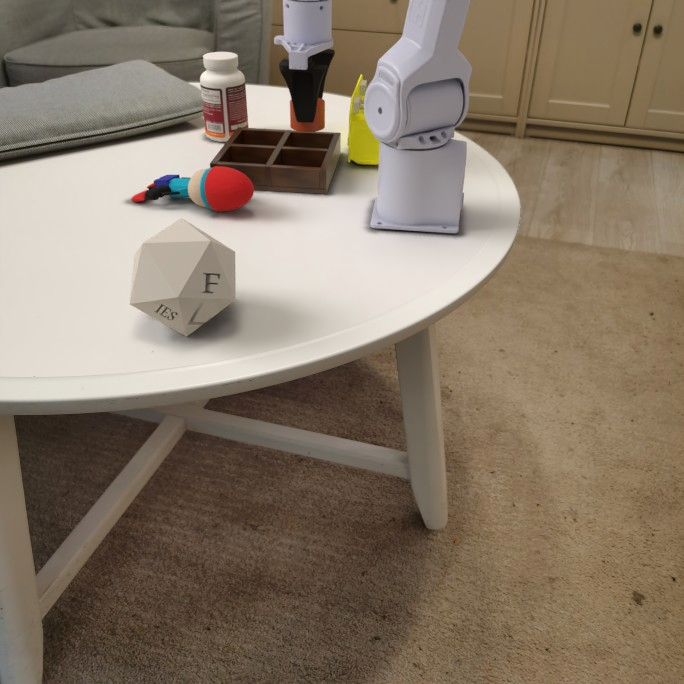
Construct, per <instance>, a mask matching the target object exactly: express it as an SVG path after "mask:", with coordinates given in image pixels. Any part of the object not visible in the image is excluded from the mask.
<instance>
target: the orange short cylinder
mask: <svg viewBox="0 0 684 684" xmlns="http://www.w3.org/2000/svg"><path fill="white" fill-rule="evenodd" d="M289 119H290V120H289V121H290V129H291V130H296V131H301V132H320V131H322V130H324V129H325V128H326V101H325V99H323V98H322V99H321V98H318V102H317V110H316V115H315V119H314V122H313V123H307V122H297V120H296V117H295V113H294V108H293V104H292V99H291V98H290V100H289Z"/></svg>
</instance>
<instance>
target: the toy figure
mask: <svg viewBox="0 0 684 684" xmlns="http://www.w3.org/2000/svg"><path fill="white" fill-rule="evenodd" d="M146 188H147V190H143V191H141V192H139V193H137V194H134V195H133V196H131V199H130V201H132V202H135V203H138V202H143V201H145V200H146V199H147V200H148V201H157V200H159V199H160V198H161V199H162V198H164V197H165V196H166V197H170V198H186V199H187V198H188V199H190V200H191V201H192V202H193V203H194V204H195V205H197V206H199V207H203V208H207V209H209V210H211V211H214V212H230V211H233V210H237V209H240V208H242V207H244V206H246V205H247V204H248V203H249V202H250V201H251V199H252V198H253V196H254V193H255V190H254V187H253V184H252V181H251V180H250V179H249V178H248V177H247V176H246V175H245V174H244V173H242V172H240V171H238V170H236V169H233V168H229V167H222V166H215V167H213V168H210V167H208V168H202V169H200V170H198V171H196V172H194V174H193V175H192V176H191V177H185V176H184V177H181V176H180V174H165V175H163V176H160V177H159V178H156V179H154V180H153V182H152V183H150V184H149V185H147V186H146Z"/></svg>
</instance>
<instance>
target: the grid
mask: <svg viewBox="0 0 684 684" xmlns="http://www.w3.org/2000/svg"><path fill="white" fill-rule="evenodd" d="M341 136H342V135H341V132H332V131H315V132H301V131H296V130H293V129H274V128H258V127H249V128H242V127H238V128H237V129H236V131H235V132H234V133H233V134H232V136H231V137H230V138H229V140H228V141H227V142H224V144H223V146H222V147H221V148H220V149H219V151H218V152H217V153H216V155H215V156H214V158H212V160H211V161H210V162H209V168H213V167H215V166H222V167H229V168H233V169H236V170H238V171H240V172H242V173H244V174H245V175H246V176H247V177H248V178H249V179H250V180H251V181H252V184H253V187H254V191H268V192H269V191H270V192H283V193H285V192H286V193H302V194H315V195H316V194H317V195H318V194H320V195H327V193H328V191H329V188H330V185H331V182H332V179H333V176H334V173H335V170H336V168H337V165H338V163H339V159H340V157H341V143H342V142H341V139H342V137H341Z"/></svg>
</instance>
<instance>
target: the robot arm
mask: <svg viewBox="0 0 684 684" xmlns="http://www.w3.org/2000/svg"><path fill="white" fill-rule="evenodd" d="M470 5H471V0H409V2H408V7H407V11H406V16H405V20H404V26H403V29H402V34H401V37H400V38H399V39H398V40H397V41H396V43H394V44H393V45H392V46H391V47H390V48H389V49H388V50H387V51H386V52H385V53H383V55H382V56H381V57H380V58H379V59H378V60H377V65H376V70H375V73H374V76H373V78H372V80H371V81H370V82H369V84H368V85H367V90H366V94H365V98H364V114H365V119H366V122H367V124H368V127H369V128H370V130H371V132H372V133H373V134H374V138H375V139H377V140H379V141H380V148H379V164H378V172H377V173H378V174H377V175H378V176H377V191H376V192H377V193H376V194H377V196H376V197H375V200H374V203H373V208H372V212H371V213H372V214H371V218H370V226H369V227H370V228H372V229H380V230H397V231H413V232H427V233H444V234H457V233H459V229H460V220H461V218H460V217H461V210H463V209H464V203H465V202H464V201H465V192H464V184H465V177H466V167H467V166H466V165H467V152H468V151H467V150H468V146H467V144H468V143H467V141H465V140H460V139H454V138H455V131H456V128H457V127H459V126H460V125H461V124H462V123H463V122H464V120H465V119H466V117H467V115H468V111H469V106H470V79H471V77H472V72H473V67H472V65H471V64H470V62H469V60H468V59H467V57H466V56H465V55H464V54H463V53H462V51H461V50H460V49H459V44H460V41H461V38H462V34H463V30H464V27H465V23H466V19H467V16H468V13H469V12H468V11H469V8H470ZM332 12H333V0H282V19H283V20H282V21H283V35H275V37H273V44H274V45H275V46H276V45H277V46H278V45H279V46H282V47H283V48H284V50H286V52H287V53H288V60H287V59H285V60H284V59H282V60H280V62H279V63H278V67H279V68H278V69H279V72H280V74H281V75H282V78H283V79H284V81H285V83H286V86H287V89H288V92H289V94H290V95H289V96H290V100H291V99H292V104H293V108H294V113H295V117H296V120H297V122H307V123H313V122H314V119H315V115H316V110H317V102H318V98H321V99H323V98H324V97H323V96H324V92H325V91H324V90H325V85H326V79H327V75H328V72H329V69H330V67H331V63H332V62H333V59H334V56H335V55H336V51H335V49H333V46H334V38H333V35H332V32H333V31H332V30H333V25H332V23H333V17H332V16H333V13H332Z"/></svg>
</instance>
